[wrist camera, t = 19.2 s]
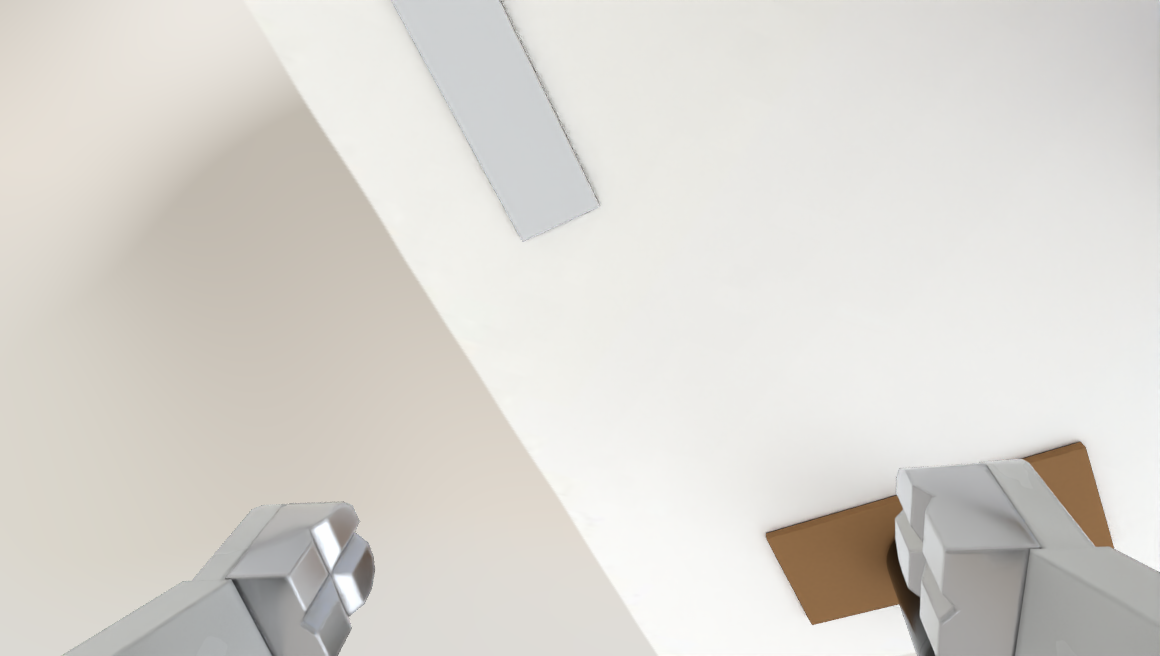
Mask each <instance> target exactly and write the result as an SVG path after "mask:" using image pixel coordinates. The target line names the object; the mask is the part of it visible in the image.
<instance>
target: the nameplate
mask: <svg viewBox="0 0 1160 656" xmlns="http://www.w3.org/2000/svg"><path fill="white" fill-rule="evenodd" d="M391 1H392V3H393V5H394V7H395V8H396V10H397V12H398V14H399V16H400V18H401V20H402V21H403V23H404V25H405V27H406V29H407V31H408V32H409V34H410V36H411V38H412V40H413V42H414V43H415V45H416V47H417V49H418V51H419V53H420V54H421V56H422V58H423V60H424V62H425V64H426V65H427V67H428V69H429V71H430V73H431V75H432V77H433V78H434V80H435V82H436V84H437V86H438V88H439V89H440V91H441V93H442V95H443V97H444V99H445V100H446V102H447V104H448V106H449V108H450V110H451V111H452V113H453V115H454V117H455V119H456V121H457V122H458V124H459V126H460V128H461V130H462V132H463V134H464V135H465V137H466V139H467V141H468V143H469V145H470V146H471V148H472V150H473V152H474V154H475V156H476V157H477V159H478V161H479V163H480V165H481V167H482V168H483V170H484V172H485V174H486V176H487V178H488V179H489V181H490V183H491V185H492V187H493V189H494V191H495V192H496V194H497V196H498V198H499V200H500V202H501V203H502V205H503V207H504V209H505V211H506V213H507V214H508V216H509V218H510V220H511V222H512V224H513V225H514V227H515V229H516V231H517V233H518V235H519V236H520V238H521V240H522V242H524V241H526V240H528V239H530V238H532V237H535V236H537V235H539V234H541V233H543V232H546V231H548V230H550V229H552V228H554V227H556V226H559V225H561V224H563V223H565V222H567V221H570V220H572V219H574V218H576V217H578V216H580V215H583V214H585V213H587V212H589V211H591V210H594V209H596V208H598V207H600V205H599V203H598V200H597V198H596V196H595V194H594V192H593V190H592V188H591V186H590V184H589V182H588V180H587V178H586V176H585V174H584V172H583V170H582V168H581V166H580V164H579V161H578V159H577V157H576V155H575V153H574V151H573V149H572V147H571V145H570V143H569V141H568V139H567V137H566V135H565V133H564V131H563V129H562V127H561V125H560V122H559V120H558V118H557V116H556V114H555V112H554V110H553V108H552V106H551V104H550V102H549V100H548V98H547V96H546V94H545V92H544V90H543V88H542V86H541V83H540V81H539V79H538V77H537V75H536V73H535V71H534V69H533V67H532V65H531V63H530V61H529V59H528V57H527V55H526V53H525V51H524V49H523V46H522V44H521V42H520V40H519V38H518V36H517V34H516V32H515V30H514V28H513V26H512V24H511V22H510V20H509V18H508V16H507V14H506V12H505V10H504V7H503V5H502V3H501V1H500V0H391Z"/></svg>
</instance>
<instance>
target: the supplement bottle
mask: <svg viewBox="0 0 1160 656" xmlns="http://www.w3.org/2000/svg"><path fill="white" fill-rule="evenodd" d="M886 562H887V569H888V572H889V576H890V579H891V582H892V585H893V588H894V591H895V593H896V596H897V599H898V602H899V605H900V608H901V611H902V614H903V616H904V619H905V622H906V625H907V628H908V631H909V634H910V637H911V639H912V642H913V645H914V648H915V651H916V654H917V656H936V655H935V653H934V650H933V648H932V645H931V643H930V640H929V638H928V636H927V633H926V631H925V628H924V626H923V624H922V621H921V619H920V597H919V596H918V595H916V594H915V593H914V592H912V591H911V590H909V589H908V586H907V584H906V581H905V578H904V576H903V573H902V570H901V566H900V563H899V559H898V553H897V546H896V539H895V540H894V541H893V542H892V544H891V546H890V548H889V550H888V553H887V561H886Z"/></svg>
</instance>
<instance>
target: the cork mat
mask: <svg viewBox="0 0 1160 656" xmlns="http://www.w3.org/2000/svg"><path fill="white" fill-rule="evenodd" d="M1023 460H1025V461H1027V462H1029V463H1030V464H1031V466H1032V467H1033V468H1034V470H1035V471H1036V472H1037V473H1038V475H1039V476H1040V477H1041V478H1042V480H1043V481H1044V482H1045V483H1046V485H1047V486H1048V487H1049V489H1050V490H1051V491H1052V492H1053V494H1054V495H1055V496H1056V497H1057V499H1058V500H1059V501H1060V502H1061V504H1062V505H1063V506H1064V507H1065V509H1066V510H1067V511H1068V513H1069V514H1070V515H1071V516H1072V518H1073V519H1074V520H1075V521H1076V523H1077V524H1078V525H1079V526H1080V528H1081V529H1082V530H1083V532H1084V533H1085V534H1086V535H1087V537H1088V538H1089V539H1090V540H1091V542H1092V543H1093V544H1094V545H1095V547H1111V548H1113V549H1114V546H1113V543H1112V539H1111V536H1110V532H1109V528H1108V525H1107V521H1106V518H1105V514H1104V511H1103V507H1102V504H1101V500H1100V497H1099V493H1098V489H1097V486H1096V482H1095V479H1094V475H1093V472H1092V468H1091V465H1090V461H1089V458H1088V454H1087V450H1086V447H1085V446H1084V445H1083V444H1082V443H1081V442H1078V443H1075V444H1071V445H1068V446H1064V447H1061V448H1058V449H1054V450H1051V451H1047V452H1044V453H1040V454H1037V455H1034V456H1030V457H1027V458H1023ZM902 510H903V507H902V505H901V503H900V501H899V498H898V496H897V495H896V496H893V497H889V498H886V499H883V500H879V501H876V502H872V503H869V504H865V505H862V506H859V507H855V508H852V509H848V510H845V511H841V512H838V513H835V514H831V515H828V516H824V517H821V518H817V519H814V520H810V521H807V522H804V523H800V524H797V525H793V526H790V527H786V528H783V529H780V530H776V531H773V532H769V533H766V538H767V541H768V543H769V545H770V547H771V548H772V550H773V552H774V554H775V556H776V558H777V560H778V562H779V564H780V565H781V567H782V569H783V571H784V573H785V575H786V577H787V579H788V581H789V582H790V584H791V586H792V588H793V590H794V592H795V594H796V596H797V598H798V600H799V601H800V603H801V605H802V607H803V609H804V611H805V613H806V615H807V617H808V618H809V620H810V622H811V624H812V625H815V624H819V623H823V622H827V621H831V620H835V619H839V618H844V617H848V616H852V615H856V614H860V613H864V612H868V611H873V610H877V609H881V608H885V607H889V606H893V605H897V604H899V602H898V599H897V596H896V593H895V591H894V588H893V585H892V582H891V579H890V576H889V572H888V569H887V562H886V561H887V553H888V550H889V548H890V546H891V544H892V542H893V541H894V540H895V518H896V517H897V515H898V514H899V513H900V512H901V511H902Z"/></svg>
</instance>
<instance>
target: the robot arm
mask: <svg viewBox="0 0 1160 656" xmlns="http://www.w3.org/2000/svg"><path fill="white" fill-rule="evenodd" d="M896 494H897V496H898V498H899V501H900V503H901V505H902V507H903V510H902V511H901V512H900V513H899V514H898V515H897V517H896V518H895V539H896V546H897V553H898V559H899V563H900V566H901V570H902V573H903V576H904V578H905V581H906V584H907V586H908V589H909V590H911V591H912V592H914V593H915V594H916V595H918V596H919V597H920V619H921V621H922V624H923V626H924V628H925V631H926V633H927V636H928V638H929V640H930V643H931V645H932V648H933V650H934V653H935V655H936V656H1160V572H1158V571H1156V570H1154V569H1152V568H1150V567H1148V566H1147V565H1145V564H1143V563H1141V562H1139V561H1137V560H1135V559H1133V558H1131V557H1129V556H1127V555H1125V554H1123V553H1121V552H1119V551H1117V550H1115V549H1113V548H1111V547H1095V545H1094V544H1093V543H1092V542H1091V540H1090V539H1089V538H1088V537H1087V535H1086V534H1085V533H1084V532H1083V530H1082V529H1081V528H1080V526H1079V525H1078V524H1077V523H1076V521H1075V520H1074V519H1073V518H1072V516H1071V515H1070V514H1069V513H1068V511H1067V510H1066V509H1065V507H1064V506H1063V505H1062V504H1061V502H1060V501H1059V500H1058V499H1057V497H1056V496H1055V495H1054V494H1053V492H1052V491H1051V490H1050V489H1049V487H1048V486H1047V485H1046V483H1045V482H1044V481H1043V480H1042V478H1041V477H1040V476H1039V475H1038V473H1037V472H1036V471H1035V470H1034V468H1033V467H1032V466H1031V464H1030V463H1029V462H1027V461H1025V460H1023V459H1009V460H997V461H985V462H979V463H973V464H958V465H942V466H927V467H912V468H899V470H898V474H897V477H896ZM358 524H359V519H358V516H357V514H356V512H355V510H354V508H353V506H352V505H351V504H348V503H345V502H320V503H290V504H276V505H261V506H259V507H256V508H254V509H252V510H251V511H250V512H249V514H247V516H246V517H245V518H244V519H243V520H242V522H241V523H240V524H239V525H238V526H237V528H236V529H235V530H234V531H233V532H232V533H231V535H230V536H229V537H228V538H227V540H226V541H225V542H224V543H223V544H222V545H221V547H220V548H219V549H218V550H217V551H216V552H215V554H214V555H213V556H212V557H211V558H210V560H209V561H208V562H207V563H206V565H205V566H204V567H203V568H202V569H201V570H200V571H199V573H198V574H197V575H196V576H195V577H194V579H193V580H192V581H183V582H181V583H179V584H178V585H176V586H174V587H173V588H171V589H169V590H168V591H166V592H164V593H163V594H161V595H160V596H158V597H156V598H155V599H153V600H151V601H150V602H148V603H147V604H145V605H143V606H142V607H140V608H138V609H137V610H135V611H133V612H132V613H130V614H129V615H127V616H125V617H124V618H122V619H120V620H119V621H117V622H116V623H114V624H112V625H111V626H109V627H108V628H106V629H104V630H102V631H101V632H99V633H98V634H96V635H94V636H93V637H91V638H89V639H88V640H86V641H85V642H83V643H81V644H80V645H78V646H76V647H75V648H73V649H71V650H70V651H68V652H67V653H65V654H63V655H62V656H338V654H339V652H340V650H341V648H342V646H343V644H344V643H345V641H346V639H347V637H348V635H349V633H350V631H351V629H352V627H351V623H350V619H349V616H350V615H351V614H353V613H354V612H355V611H356V610H358V609H359V608H360V607H361V606H363V605H364V604H365V602H366V600H367V598H368V596H369V594H370V591H371V589H372V585H373V579H374V573H375V566H374V557H373V553H372V551H371V548H370V545H369V543H368V542H367V541H365V540H364V539H363V538H362V537H360V536H359V535H358V534H357V533H355V532H356V529H357V527H358Z"/></svg>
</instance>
